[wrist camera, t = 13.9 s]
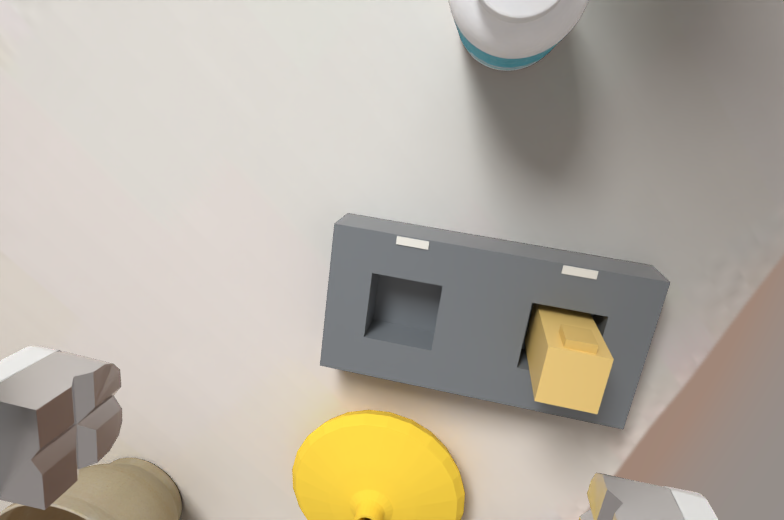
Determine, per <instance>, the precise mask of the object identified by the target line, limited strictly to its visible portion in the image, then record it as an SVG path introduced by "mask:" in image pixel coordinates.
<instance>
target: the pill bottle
mask: <svg viewBox="0 0 784 520" xmlns="http://www.w3.org/2000/svg"><path fill="white" fill-rule="evenodd" d="M588 1H589V0H449V5H450V9H451V12H452V15H453V18H454V21H455V24H456V27H457V30H458V32H459V35H460V38H461V41H462V43H463V44H464V46H465V48H466V50H467V51H468V52H469V53H470V55H471V56H472V57H473V58H474V59H476V60H477V61H478V62H480V63H481V64H483V65H485V66H487V67H489V68H492V69H496V70H502V71H513V70H519V69H522V68H525V67H528V66H530V65H532V64H534V63H536V62H537V61H539V60H540V59H542V58H543V57H544V56H545V55H546V54H548V53H549V52H550V51H551V50H552V49H553V48H554V47H555V46H556V45H557V44H558V43H559V42H560V41H561V40H562V39H563V38H564V37H565V36H566V35H567V34H568V33H569V32H570V31H571V30H572V28H573V27H574V26H575V25H576V23H577V22H578V20H579V19H580V17H581V16H582V14H583V12H584V10H585V8H586V6H587V3H588Z"/></svg>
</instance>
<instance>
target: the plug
mask: <svg viewBox="0 0 784 520" xmlns="http://www.w3.org/2000/svg"><path fill="white" fill-rule="evenodd" d="M525 348H526V354H527V360H528V365H529V371H530V377H531V383H532V389H533V395H534V401H536V402H541V403H546V404H551V405H555V406H560V407H565V408H570V409H574V410H579V411H584V412H589V413H594V414H598V410H599V407H600V404H601V400H602V397H603V394H604V390H605V387H606V384H607V380H608V377H609V374H610V370H611V367H612V364H613V360H614V359H613V357H612V355H611V353H610V351H609V349H608V347H607V345H606V343H605V341H604V339H603V337H602V335H601V333H600V331H599V330H598V328H597V326H596V324H595V322H594V320H593V318H592V316H591V314H590V313H585V312H580V311H574V310H569V309H564V308H558V307H553V306H547V305H542V304H537V303H534V304H533V308H532V312H531V316H530V321H529V325H528V329H527V333H526V337H525Z"/></svg>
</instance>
